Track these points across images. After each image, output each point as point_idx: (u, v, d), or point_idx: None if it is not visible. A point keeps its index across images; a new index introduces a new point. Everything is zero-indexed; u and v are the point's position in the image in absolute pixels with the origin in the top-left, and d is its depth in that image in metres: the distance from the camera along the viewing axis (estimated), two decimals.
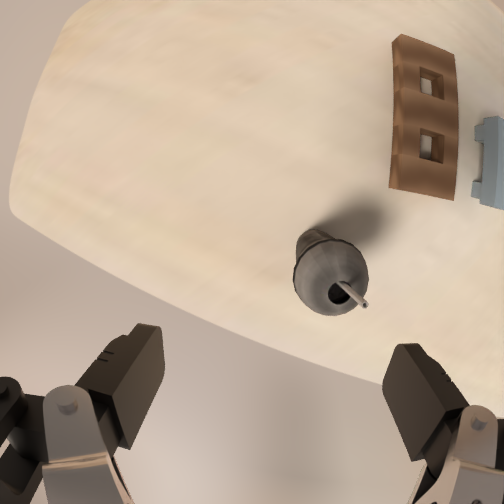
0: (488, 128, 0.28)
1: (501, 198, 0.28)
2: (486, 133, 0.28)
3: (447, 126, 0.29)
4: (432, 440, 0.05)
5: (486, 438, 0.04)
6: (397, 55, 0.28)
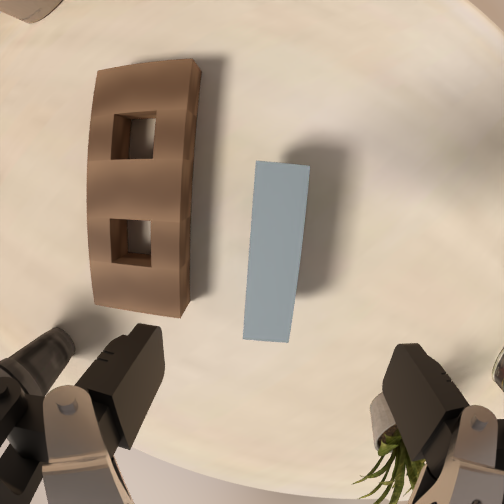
0: None
1: (264, 324, 0.21)
2: None
3: (157, 204, 0.22)
4: (432, 440, 0.05)
5: (486, 438, 0.04)
6: None
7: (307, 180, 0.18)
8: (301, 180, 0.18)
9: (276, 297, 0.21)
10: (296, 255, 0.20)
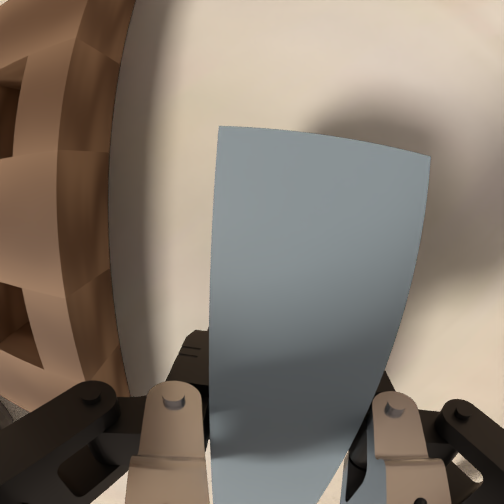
0: None
1: None
2: None
3: (24, 255, 0.08)
4: None
5: (396, 426, 0.05)
6: None
7: (420, 212, 0.04)
8: (402, 212, 0.04)
9: (283, 489, 0.07)
10: (346, 430, 0.06)
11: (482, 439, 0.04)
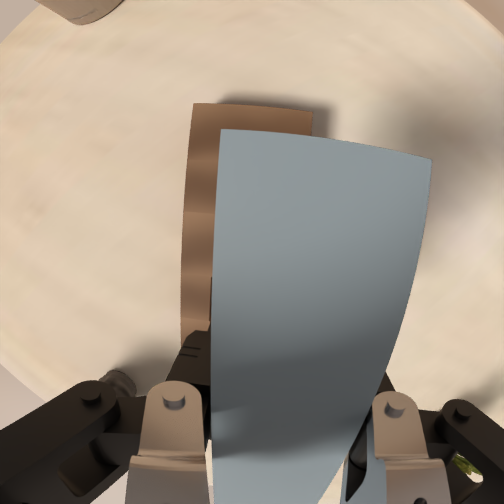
0: None
1: None
2: None
3: None
4: None
5: (396, 426, 0.05)
6: None
7: (421, 215, 0.04)
8: (404, 215, 0.04)
9: (284, 489, 0.07)
10: (346, 431, 0.06)
11: (482, 439, 0.04)
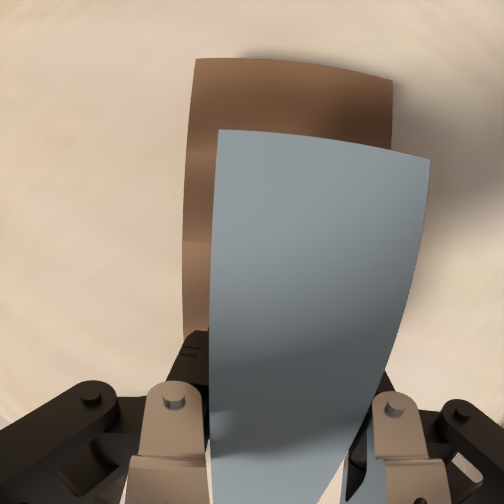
0: None
1: None
2: None
3: None
4: None
5: (397, 426, 0.05)
6: None
7: (420, 215, 0.04)
8: (401, 215, 0.04)
9: (283, 490, 0.07)
10: (345, 432, 0.06)
11: (482, 439, 0.04)
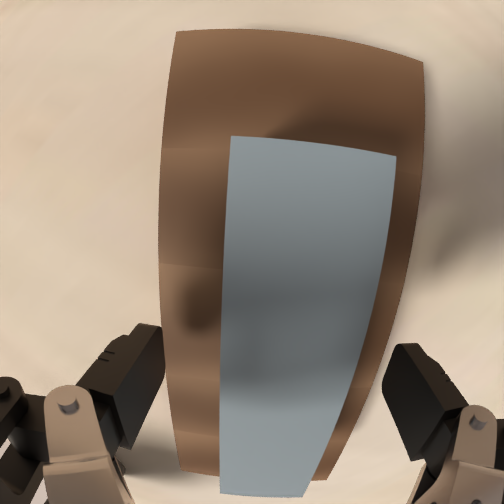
0: None
1: (258, 482, 0.09)
2: None
3: None
4: (431, 440, 0.05)
5: (485, 438, 0.04)
6: None
7: (388, 200, 0.06)
8: (373, 200, 0.06)
9: (284, 454, 0.08)
10: (337, 390, 0.07)
11: None
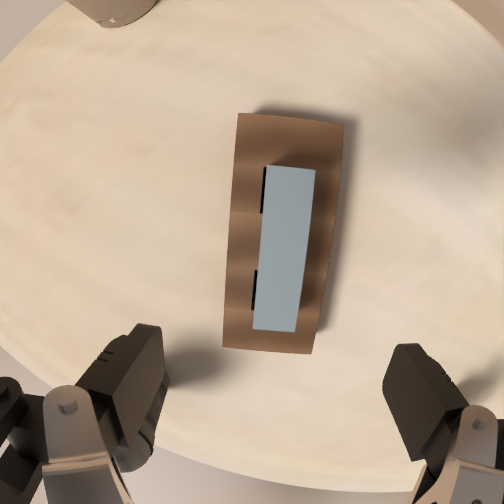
0: None
1: (272, 314, 0.23)
2: None
3: (307, 259, 0.25)
4: (432, 440, 0.05)
5: (486, 438, 0.04)
6: None
7: (313, 183, 0.20)
8: (307, 183, 0.20)
9: (284, 289, 0.23)
10: (302, 250, 0.22)
11: None
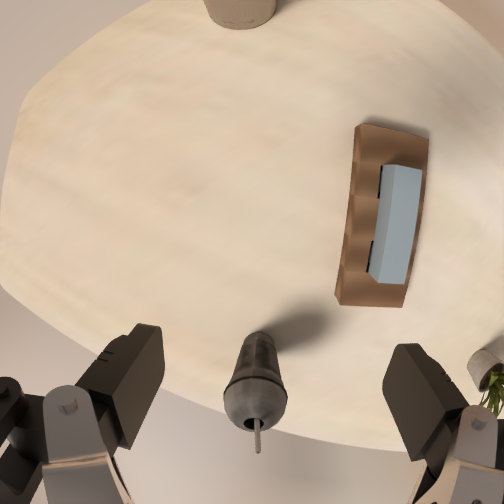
0: (385, 179, 0.29)
1: (392, 271, 0.30)
2: (383, 185, 0.30)
3: None
4: (432, 440, 0.05)
5: (486, 438, 0.04)
6: (357, 150, 0.31)
7: (420, 178, 0.27)
8: (418, 178, 0.27)
9: (401, 251, 0.29)
10: (413, 224, 0.28)
11: None
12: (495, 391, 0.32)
